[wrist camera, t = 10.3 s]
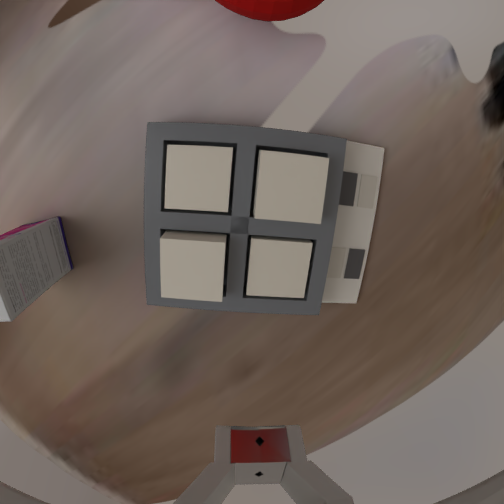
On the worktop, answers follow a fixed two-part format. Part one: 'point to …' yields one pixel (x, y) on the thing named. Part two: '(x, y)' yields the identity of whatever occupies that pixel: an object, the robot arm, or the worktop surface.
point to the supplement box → (31, 264)
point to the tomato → (270, 8)
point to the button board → (244, 224)
